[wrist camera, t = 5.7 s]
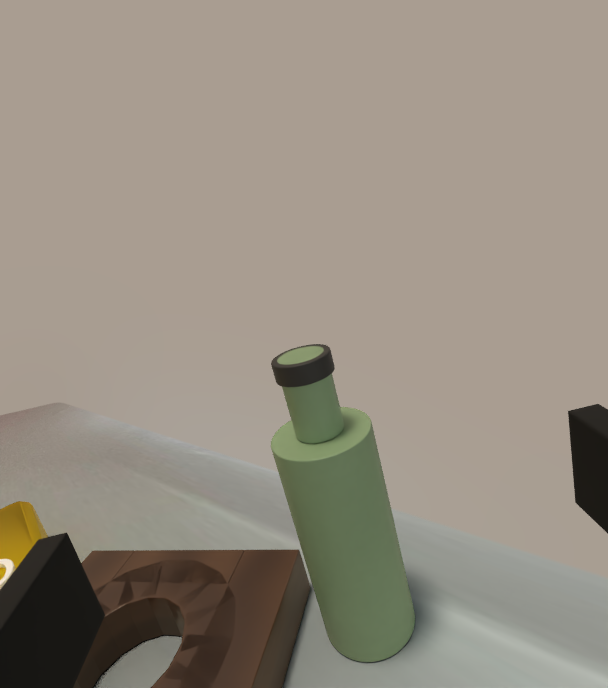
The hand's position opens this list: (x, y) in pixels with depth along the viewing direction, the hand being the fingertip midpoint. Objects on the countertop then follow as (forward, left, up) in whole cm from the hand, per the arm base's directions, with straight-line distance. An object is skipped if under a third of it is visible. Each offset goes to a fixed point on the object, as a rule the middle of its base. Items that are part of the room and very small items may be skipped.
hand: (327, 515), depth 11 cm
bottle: (+3, -9, -15) cm, 18 cm away
